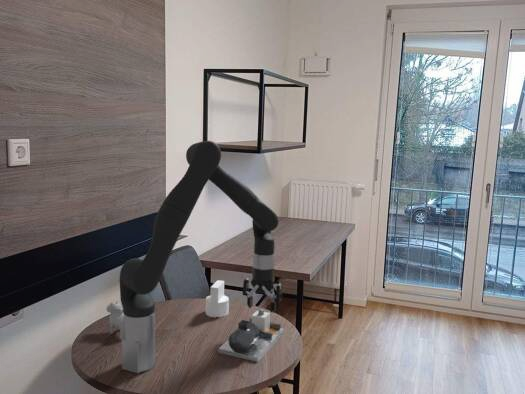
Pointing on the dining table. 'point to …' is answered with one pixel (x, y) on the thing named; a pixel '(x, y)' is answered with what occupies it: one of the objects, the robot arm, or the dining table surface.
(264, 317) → the cube with round knob
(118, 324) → the dog figurine
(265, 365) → the dining table surface
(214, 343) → the dining table surface
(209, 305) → the white appliance knob
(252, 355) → the motor mount
